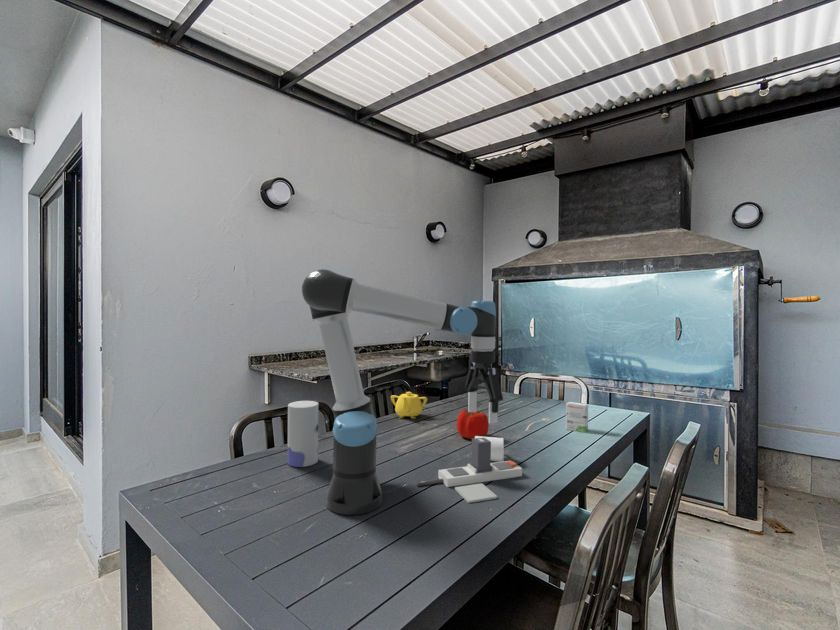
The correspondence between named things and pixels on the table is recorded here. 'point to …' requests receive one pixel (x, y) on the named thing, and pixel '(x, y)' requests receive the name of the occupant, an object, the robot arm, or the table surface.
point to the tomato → (472, 424)
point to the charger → (481, 454)
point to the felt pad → (475, 493)
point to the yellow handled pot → (408, 404)
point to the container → (302, 433)
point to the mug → (496, 448)
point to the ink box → (577, 417)
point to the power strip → (476, 474)
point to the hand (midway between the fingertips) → (482, 417)
